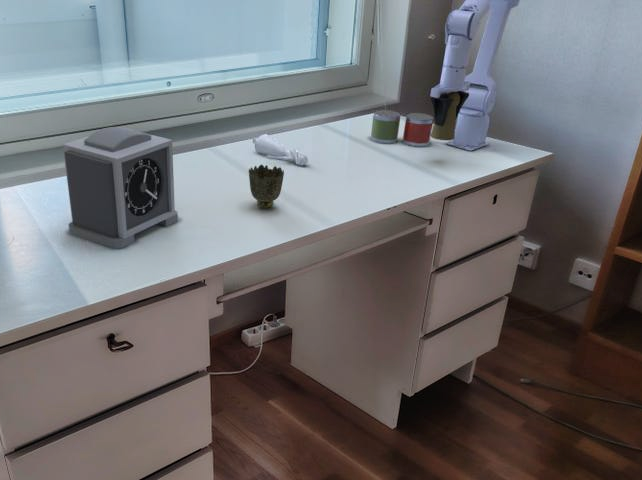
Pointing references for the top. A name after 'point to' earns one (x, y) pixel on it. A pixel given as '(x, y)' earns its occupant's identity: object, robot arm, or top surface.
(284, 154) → the woman figurine
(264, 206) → the cup
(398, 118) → the green tin
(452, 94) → the cork
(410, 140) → the red tin
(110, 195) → the alarm clock
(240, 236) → the top surface
